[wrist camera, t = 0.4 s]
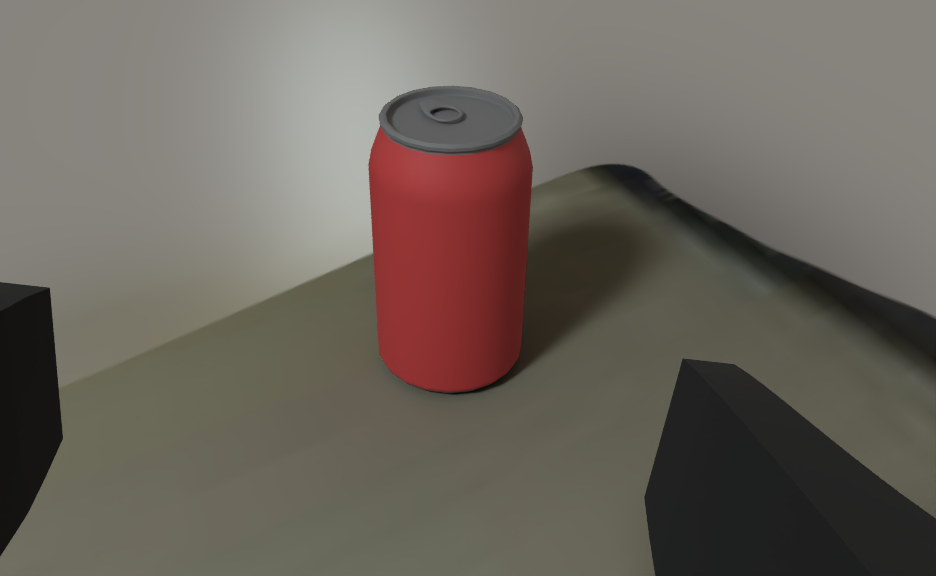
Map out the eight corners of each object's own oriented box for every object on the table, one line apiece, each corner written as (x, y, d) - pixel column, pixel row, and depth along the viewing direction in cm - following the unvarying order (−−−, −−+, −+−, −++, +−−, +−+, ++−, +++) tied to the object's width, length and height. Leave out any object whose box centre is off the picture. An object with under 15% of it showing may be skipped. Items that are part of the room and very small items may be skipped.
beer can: (466, 294, 45) (469, 68, 38) (549, 364, 41) (571, 123, 34) (352, 341, 42) (334, 103, 35) (430, 422, 38) (427, 169, 31)
